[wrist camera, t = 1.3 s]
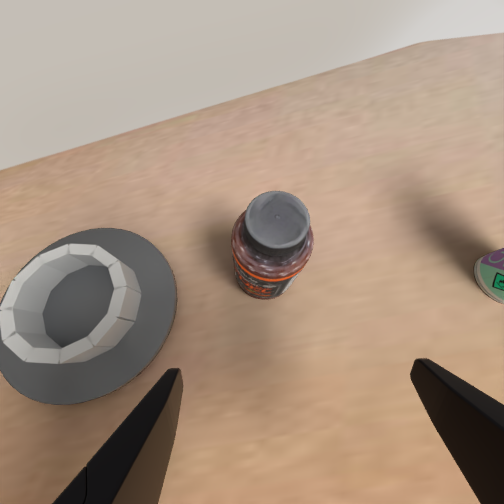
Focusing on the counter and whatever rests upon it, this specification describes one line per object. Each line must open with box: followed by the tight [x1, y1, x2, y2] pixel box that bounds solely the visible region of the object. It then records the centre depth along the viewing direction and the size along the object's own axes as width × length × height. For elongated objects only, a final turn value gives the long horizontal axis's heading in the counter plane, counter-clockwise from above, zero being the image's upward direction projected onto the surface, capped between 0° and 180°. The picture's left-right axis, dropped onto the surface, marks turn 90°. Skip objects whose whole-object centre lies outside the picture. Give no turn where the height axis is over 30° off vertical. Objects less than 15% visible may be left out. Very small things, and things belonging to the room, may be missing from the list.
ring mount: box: [0, 228, 177, 405], centre depth 21 cm, size 16×16×4 cm
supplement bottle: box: [231, 191, 314, 299], centre depth 20 cm, size 6×6×11 cm
